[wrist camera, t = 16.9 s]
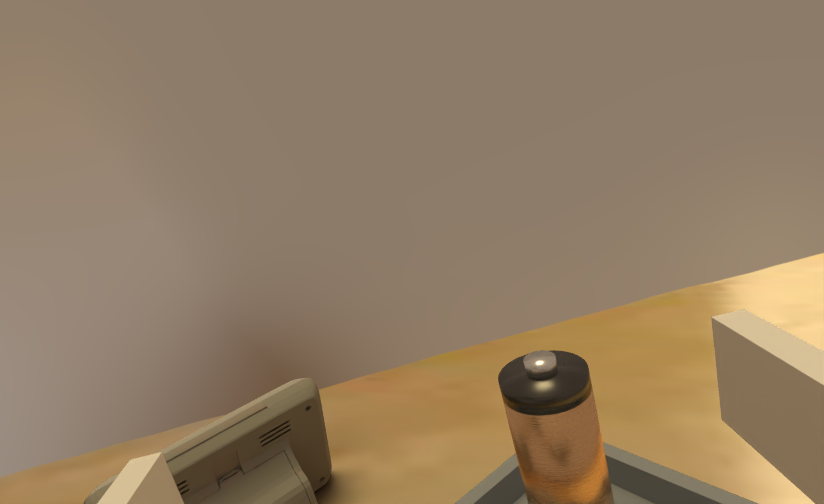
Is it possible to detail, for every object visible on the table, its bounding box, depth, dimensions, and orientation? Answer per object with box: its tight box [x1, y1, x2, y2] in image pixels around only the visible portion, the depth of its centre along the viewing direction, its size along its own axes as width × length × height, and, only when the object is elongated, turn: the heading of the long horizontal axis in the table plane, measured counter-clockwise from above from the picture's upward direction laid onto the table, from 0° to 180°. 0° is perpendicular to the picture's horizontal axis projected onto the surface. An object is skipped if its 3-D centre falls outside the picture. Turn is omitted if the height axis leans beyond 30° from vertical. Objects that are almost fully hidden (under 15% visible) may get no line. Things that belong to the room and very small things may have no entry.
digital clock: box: [84, 378, 332, 504], centre depth 37 cm, size 16×9×11 cm, turn 116°
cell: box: [498, 351, 615, 504], centre depth 27 cm, size 4×4×13 cm
